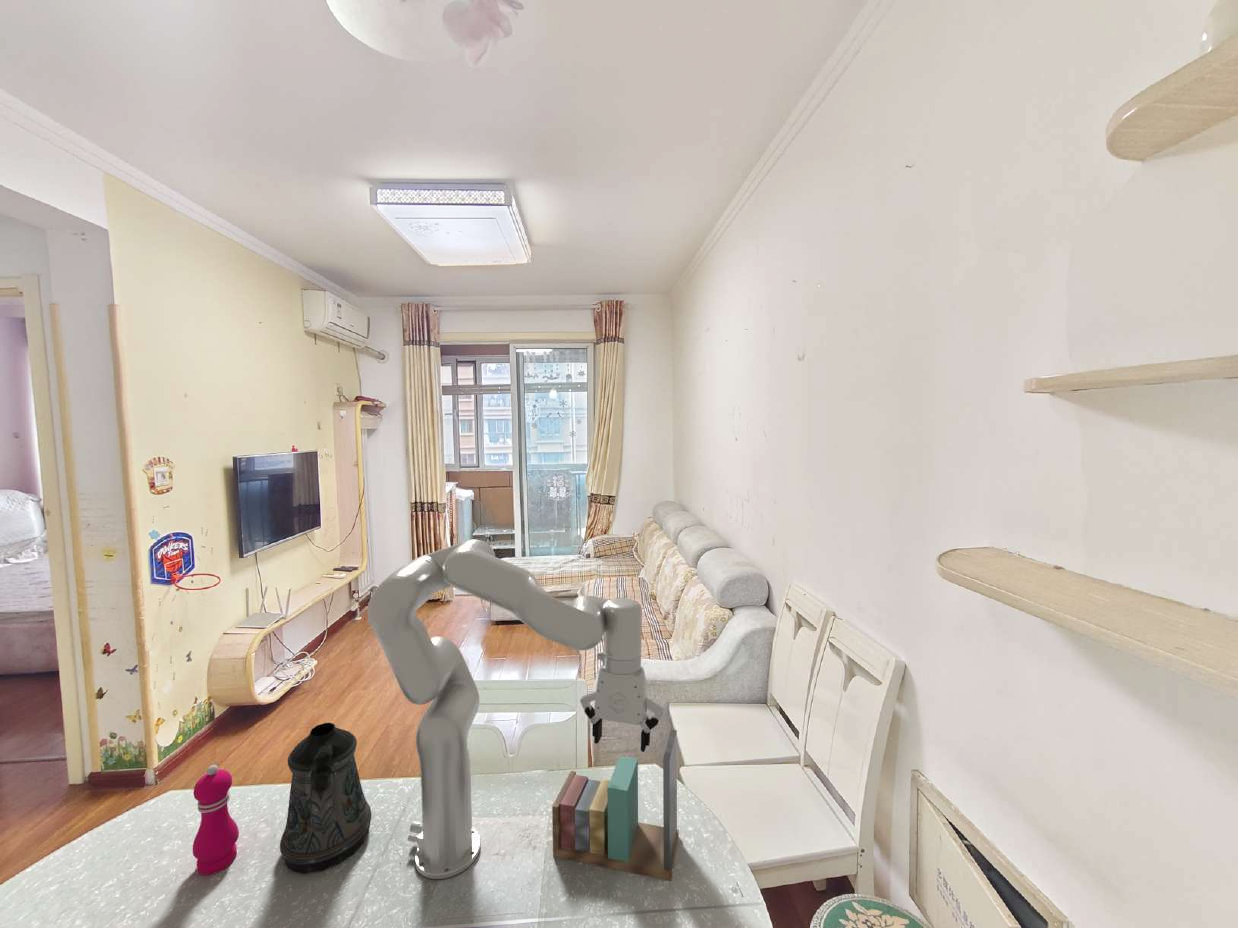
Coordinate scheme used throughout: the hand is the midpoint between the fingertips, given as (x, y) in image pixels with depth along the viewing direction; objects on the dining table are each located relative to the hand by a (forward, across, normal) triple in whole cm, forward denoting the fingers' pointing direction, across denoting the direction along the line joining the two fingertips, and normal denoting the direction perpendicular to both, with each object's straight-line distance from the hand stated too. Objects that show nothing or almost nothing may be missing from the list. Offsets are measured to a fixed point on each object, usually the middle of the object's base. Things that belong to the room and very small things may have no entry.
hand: (620, 743), depth 102 cm
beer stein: (+24, -58, -14) cm, 65 cm away
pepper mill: (+24, -77, -23) cm, 84 cm away
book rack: (+22, 0, 0) cm, 22 cm away
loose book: (+21, +1, 0) cm, 21 cm away
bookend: (+20, +11, 0) cm, 23 cm away
